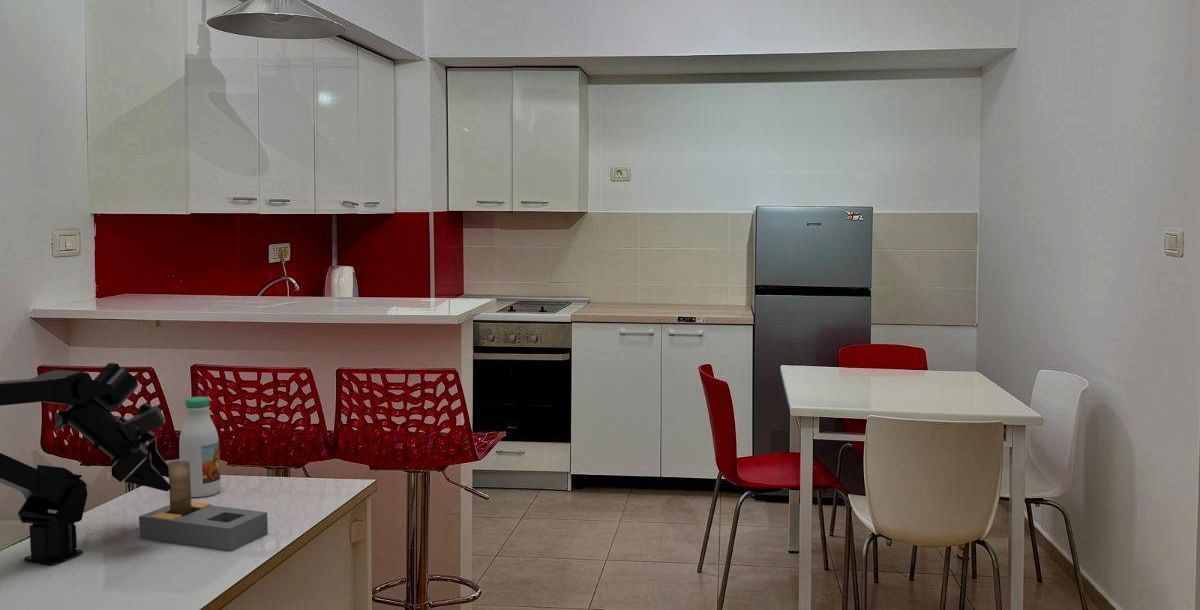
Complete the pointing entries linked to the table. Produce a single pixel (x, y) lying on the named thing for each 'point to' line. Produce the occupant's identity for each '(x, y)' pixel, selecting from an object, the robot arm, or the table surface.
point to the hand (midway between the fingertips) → (171, 482)
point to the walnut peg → (180, 488)
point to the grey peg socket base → (205, 526)
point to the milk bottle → (200, 448)
